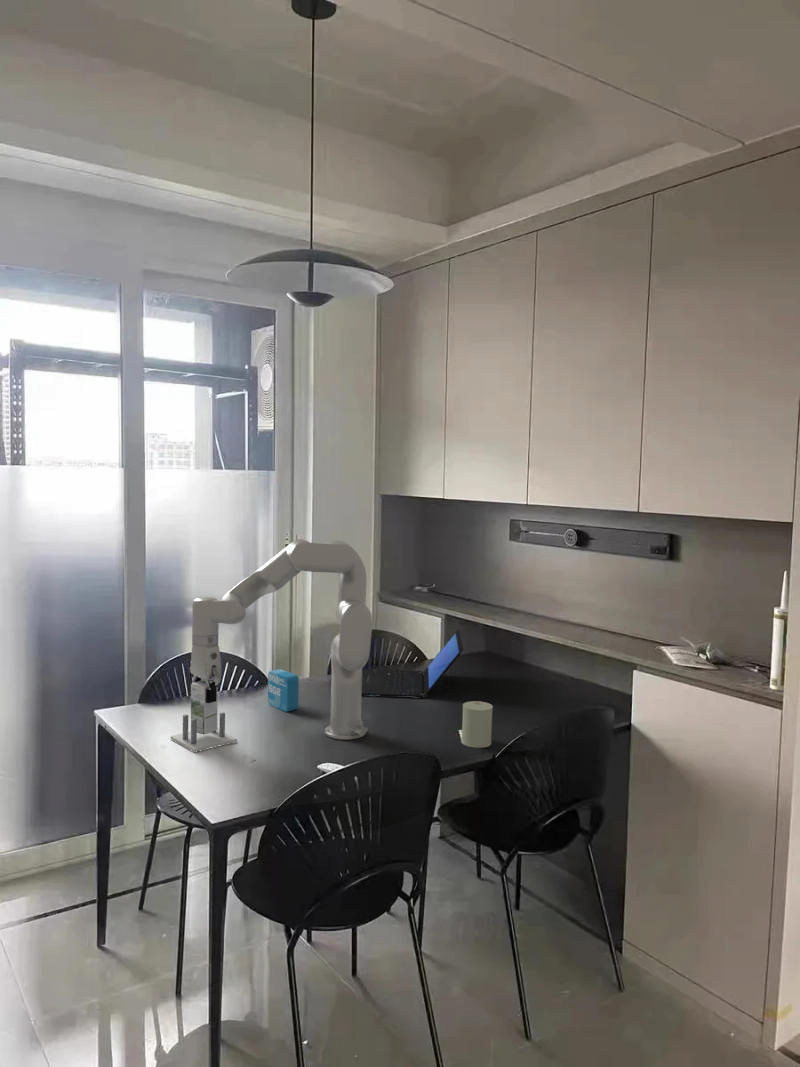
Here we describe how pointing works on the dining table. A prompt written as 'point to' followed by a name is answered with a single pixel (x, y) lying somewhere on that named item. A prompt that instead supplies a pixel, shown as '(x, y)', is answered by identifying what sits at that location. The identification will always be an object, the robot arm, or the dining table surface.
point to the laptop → (412, 674)
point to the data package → (283, 690)
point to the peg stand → (202, 736)
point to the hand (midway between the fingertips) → (204, 698)
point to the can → (477, 724)
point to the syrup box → (203, 708)
